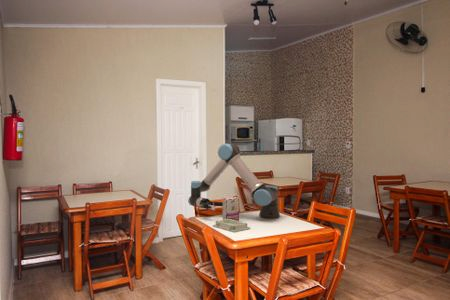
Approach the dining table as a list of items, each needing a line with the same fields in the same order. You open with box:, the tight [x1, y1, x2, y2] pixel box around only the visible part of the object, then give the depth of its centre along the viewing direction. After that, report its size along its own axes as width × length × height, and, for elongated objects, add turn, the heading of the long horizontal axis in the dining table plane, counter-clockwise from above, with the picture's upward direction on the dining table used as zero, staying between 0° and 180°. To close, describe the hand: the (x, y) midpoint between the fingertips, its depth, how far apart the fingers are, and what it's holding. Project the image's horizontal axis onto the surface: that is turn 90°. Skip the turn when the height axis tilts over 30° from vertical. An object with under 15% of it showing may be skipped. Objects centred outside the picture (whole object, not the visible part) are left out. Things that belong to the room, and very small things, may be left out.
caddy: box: [212, 219, 251, 233], centre depth 224 cm, size 14×20×4 cm
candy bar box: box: [222, 196, 240, 221], centre depth 241 cm, size 11×5×16 cm, turn 126°
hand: (222, 207), depth 247 cm, fingers open, 13 cm apart
